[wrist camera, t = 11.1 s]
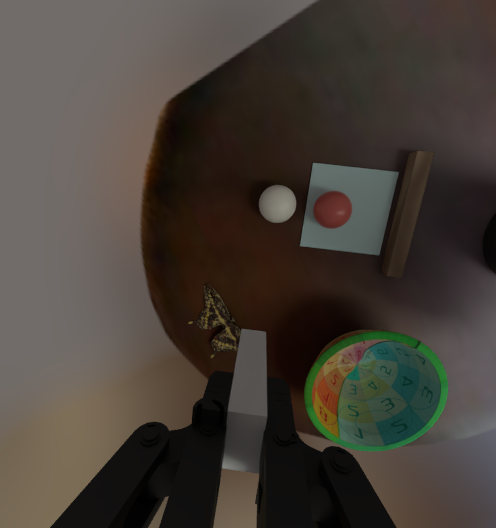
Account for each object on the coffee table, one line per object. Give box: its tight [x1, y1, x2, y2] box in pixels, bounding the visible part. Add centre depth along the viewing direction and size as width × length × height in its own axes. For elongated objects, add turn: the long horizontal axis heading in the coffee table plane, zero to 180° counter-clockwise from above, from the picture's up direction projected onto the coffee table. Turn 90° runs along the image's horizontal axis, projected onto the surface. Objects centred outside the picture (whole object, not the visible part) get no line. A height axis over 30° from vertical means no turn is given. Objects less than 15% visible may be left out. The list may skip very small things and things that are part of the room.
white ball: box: [259, 185, 296, 223], centre depth 43 cm, size 6×6×6 cm
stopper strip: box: [381, 151, 434, 278], centre depth 44 cm, size 2×20×2 cm, turn 174°
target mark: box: [300, 163, 399, 255], centre depth 45 cm, size 14×14×1 cm
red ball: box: [313, 191, 352, 229], centre depth 43 cm, size 6×6×6 cm
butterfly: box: [188, 284, 242, 358], centre depth 51 cm, size 18×4×10 cm
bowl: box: [304, 330, 448, 451], centre depth 47 cm, size 22×22×10 cm
